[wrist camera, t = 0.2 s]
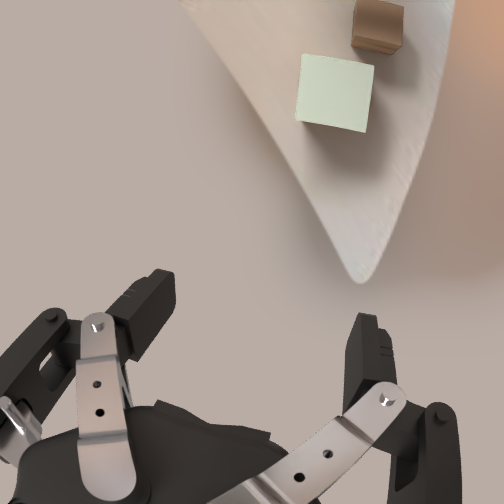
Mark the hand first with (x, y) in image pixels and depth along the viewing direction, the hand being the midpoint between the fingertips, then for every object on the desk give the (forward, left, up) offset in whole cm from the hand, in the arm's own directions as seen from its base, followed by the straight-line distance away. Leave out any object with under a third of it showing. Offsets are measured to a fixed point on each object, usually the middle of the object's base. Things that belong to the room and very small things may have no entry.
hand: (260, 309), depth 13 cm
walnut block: (-19, +6, -29) cm, 35 cm away
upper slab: (-10, +2, -25) cm, 27 cm away
